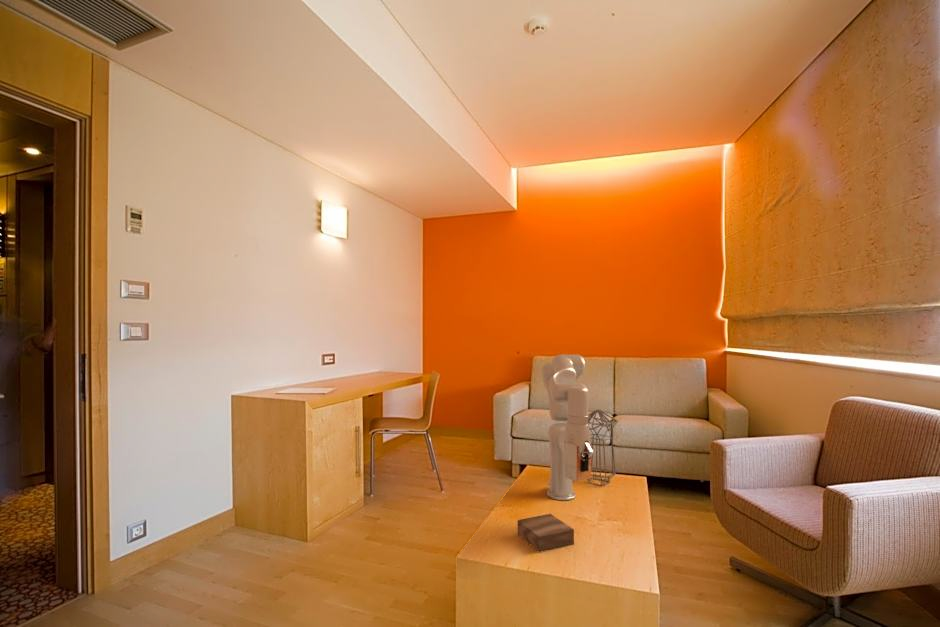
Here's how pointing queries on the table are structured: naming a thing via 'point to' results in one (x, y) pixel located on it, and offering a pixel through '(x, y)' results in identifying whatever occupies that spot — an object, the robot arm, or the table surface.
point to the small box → (574, 464)
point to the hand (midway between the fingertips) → (577, 467)
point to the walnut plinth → (545, 532)
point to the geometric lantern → (603, 444)
